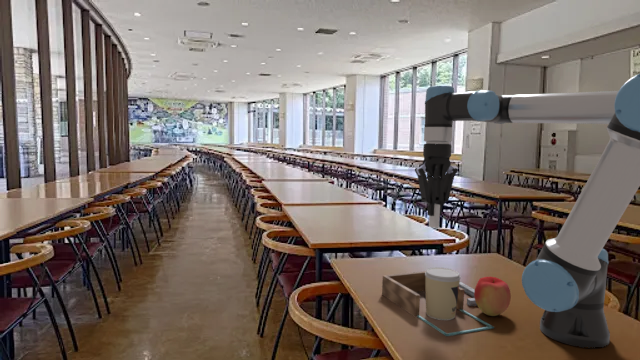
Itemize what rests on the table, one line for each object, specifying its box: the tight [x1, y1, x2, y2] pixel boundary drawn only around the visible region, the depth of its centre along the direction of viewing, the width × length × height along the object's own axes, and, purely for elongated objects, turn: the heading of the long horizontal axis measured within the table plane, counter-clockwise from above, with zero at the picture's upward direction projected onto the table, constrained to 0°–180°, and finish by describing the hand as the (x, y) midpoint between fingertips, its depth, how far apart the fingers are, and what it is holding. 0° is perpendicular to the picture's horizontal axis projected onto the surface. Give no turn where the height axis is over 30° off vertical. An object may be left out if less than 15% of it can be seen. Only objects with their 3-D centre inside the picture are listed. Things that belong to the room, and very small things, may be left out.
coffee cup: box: [425, 267, 462, 321], centre depth 121 cm, size 9×9×12 cm
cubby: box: [381, 270, 465, 318], centre depth 131 cm, size 18×16×6 cm
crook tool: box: [459, 280, 478, 307], centre depth 138 cm, size 18×7×2 cm, turn 14°
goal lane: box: [416, 308, 495, 337], centre depth 117 cm, size 12×15×1 cm
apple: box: [474, 276, 512, 317], centre depth 122 cm, size 10×10×10 cm
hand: (433, 226), depth 125 cm, fingers closed
